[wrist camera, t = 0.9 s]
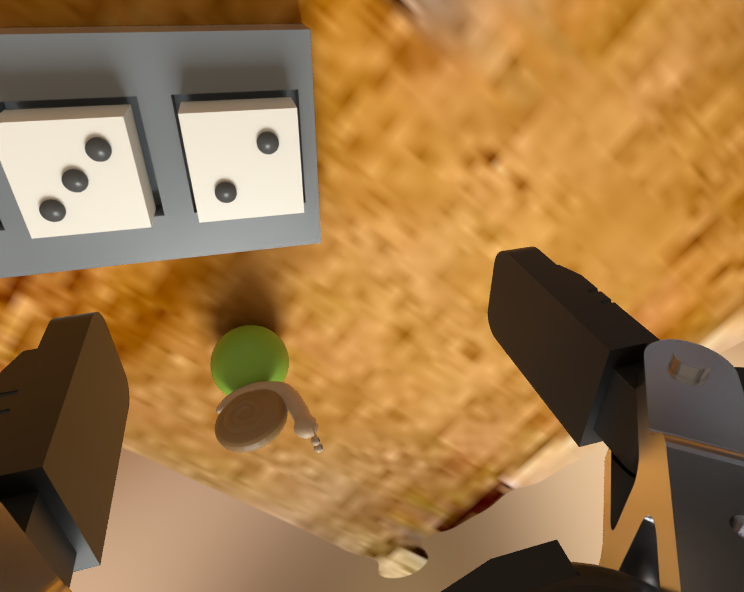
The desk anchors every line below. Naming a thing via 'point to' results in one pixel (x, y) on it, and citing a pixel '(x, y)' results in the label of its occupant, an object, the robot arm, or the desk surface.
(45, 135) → the tile three dots
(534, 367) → the robot arm
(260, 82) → the socket board
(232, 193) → the tile two dots
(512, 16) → the desk surface
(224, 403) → the snail figurine
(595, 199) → the desk surface
